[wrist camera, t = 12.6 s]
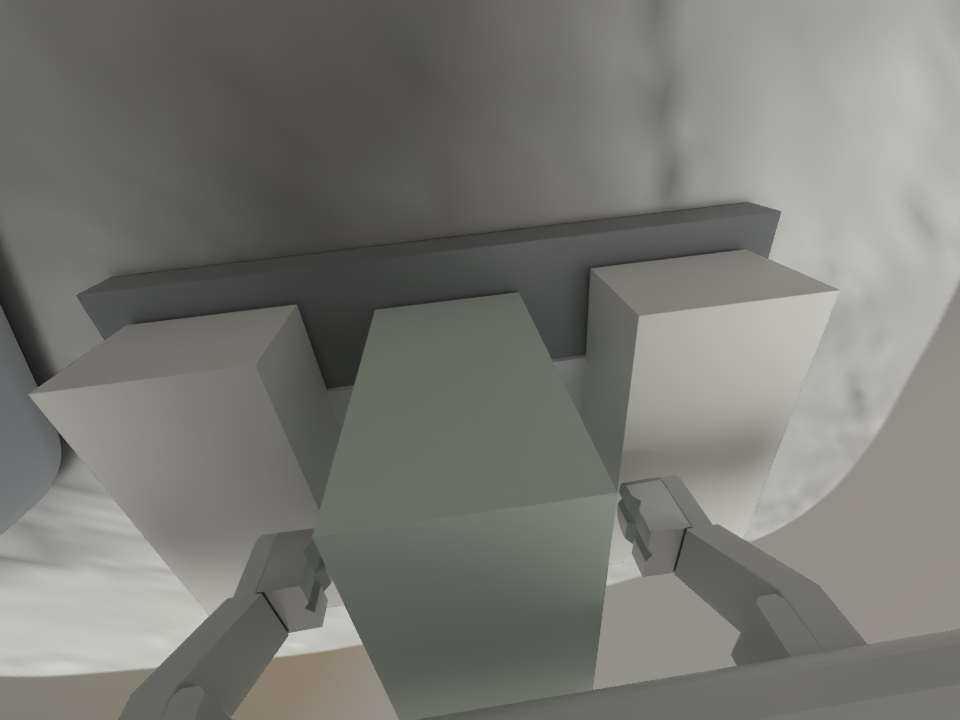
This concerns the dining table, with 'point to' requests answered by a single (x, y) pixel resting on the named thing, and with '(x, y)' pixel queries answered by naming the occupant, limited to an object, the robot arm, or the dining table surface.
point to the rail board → (420, 280)
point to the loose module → (467, 512)
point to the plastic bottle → (22, 435)
